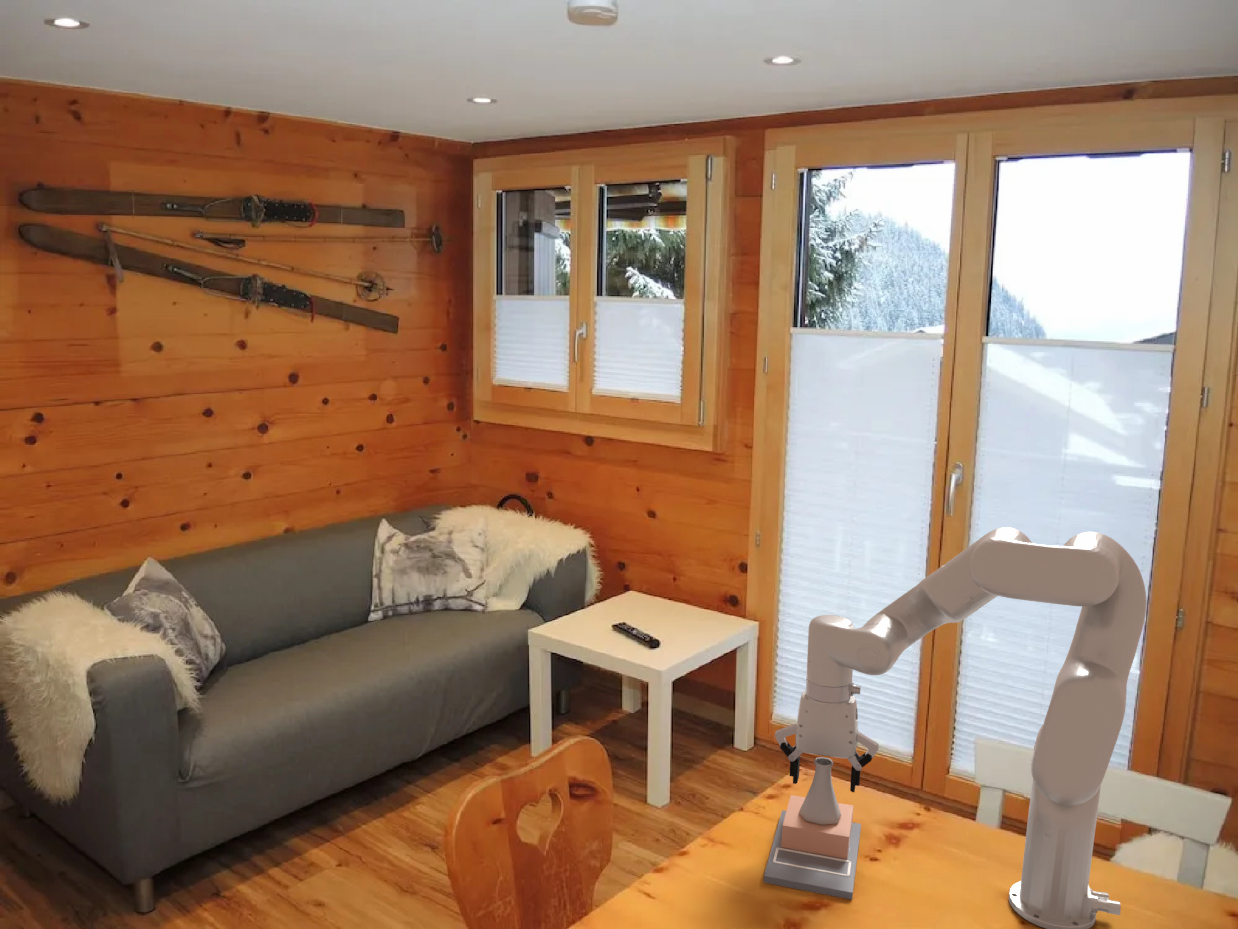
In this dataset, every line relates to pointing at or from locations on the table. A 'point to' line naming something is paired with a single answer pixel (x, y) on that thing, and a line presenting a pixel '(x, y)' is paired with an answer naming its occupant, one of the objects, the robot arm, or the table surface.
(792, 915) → the table surface
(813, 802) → the flask
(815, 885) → the build base
